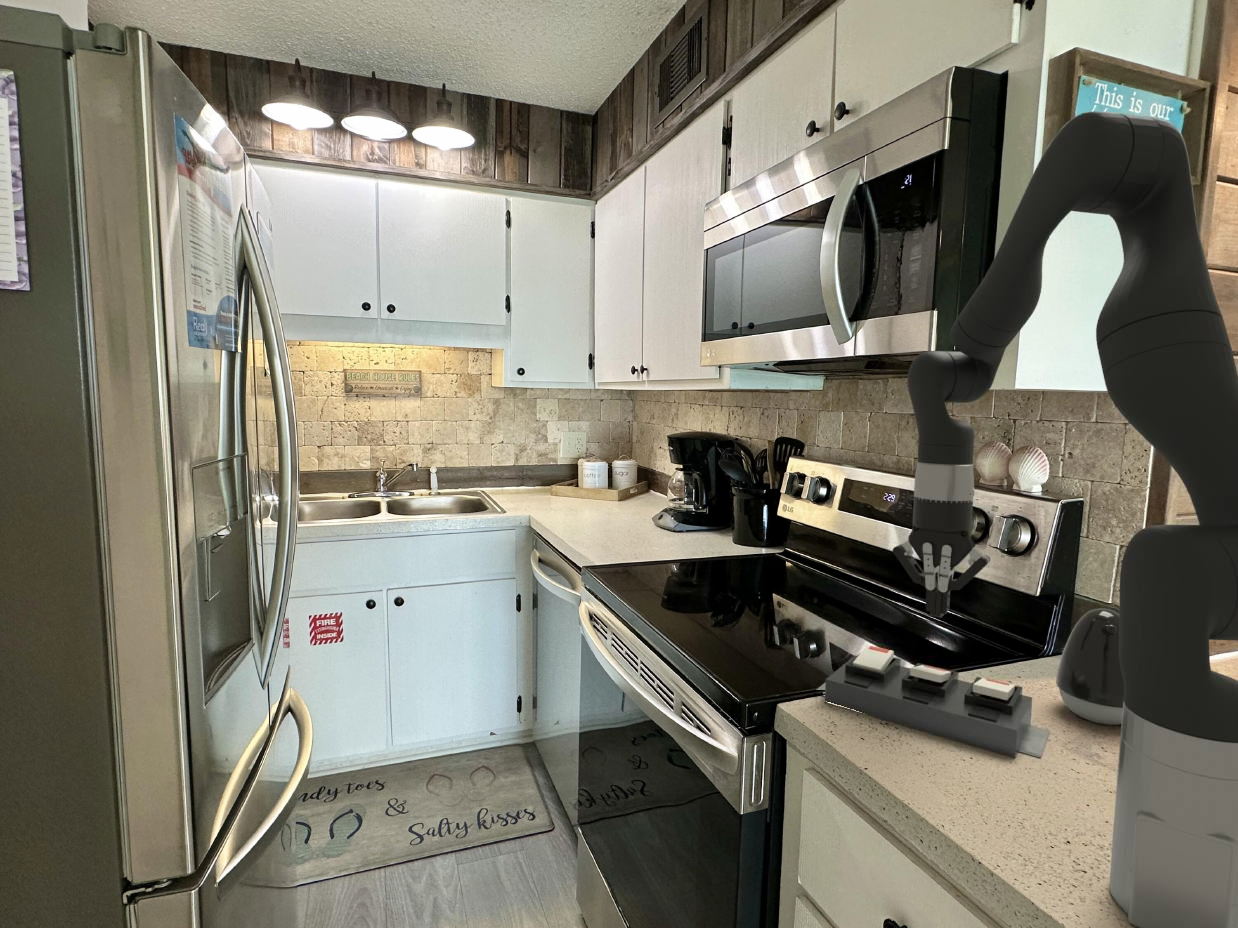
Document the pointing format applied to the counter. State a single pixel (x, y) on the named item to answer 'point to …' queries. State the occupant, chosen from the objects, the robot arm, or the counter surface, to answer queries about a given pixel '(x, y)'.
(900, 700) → the rocker switch box
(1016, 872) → the counter surface
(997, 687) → the rocker
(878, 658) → the rocker
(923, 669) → the middle rocker
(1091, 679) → the pump dispenser
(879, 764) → the counter surface
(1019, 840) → the counter surface
